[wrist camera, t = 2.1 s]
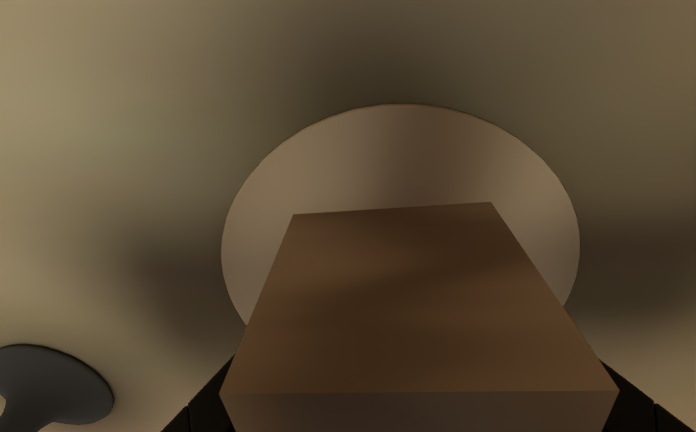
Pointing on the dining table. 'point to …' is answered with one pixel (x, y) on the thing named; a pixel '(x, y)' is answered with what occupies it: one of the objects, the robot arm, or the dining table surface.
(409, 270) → the walnut block
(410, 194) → the cork coaster
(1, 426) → the sundae
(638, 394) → the robot arm
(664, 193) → the dining table surface
